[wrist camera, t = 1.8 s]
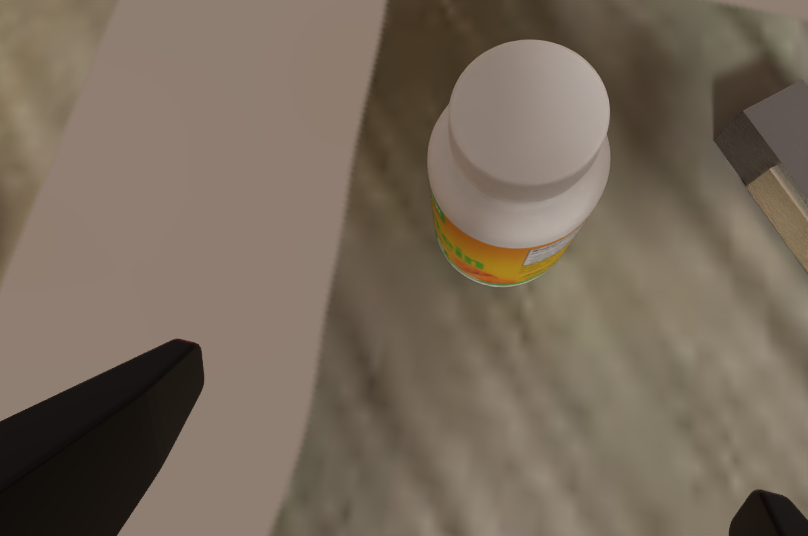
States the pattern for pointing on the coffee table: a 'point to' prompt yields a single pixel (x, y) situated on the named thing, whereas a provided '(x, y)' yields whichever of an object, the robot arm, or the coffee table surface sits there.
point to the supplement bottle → (518, 160)
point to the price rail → (775, 161)
